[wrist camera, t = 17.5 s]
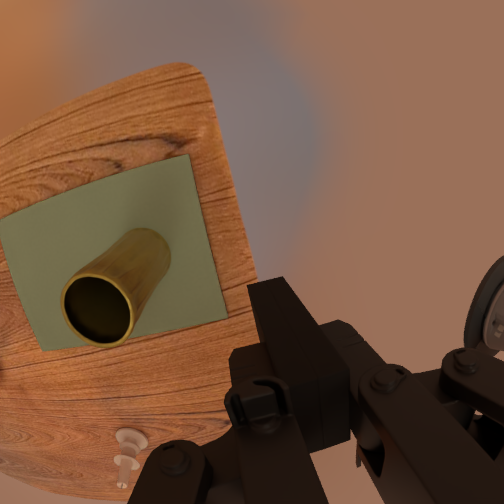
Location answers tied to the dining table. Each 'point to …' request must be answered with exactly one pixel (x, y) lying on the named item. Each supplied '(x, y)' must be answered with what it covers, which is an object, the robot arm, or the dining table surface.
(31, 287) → the mat
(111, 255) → the fluted gold cylinder
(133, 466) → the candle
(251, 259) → the dining table surface
